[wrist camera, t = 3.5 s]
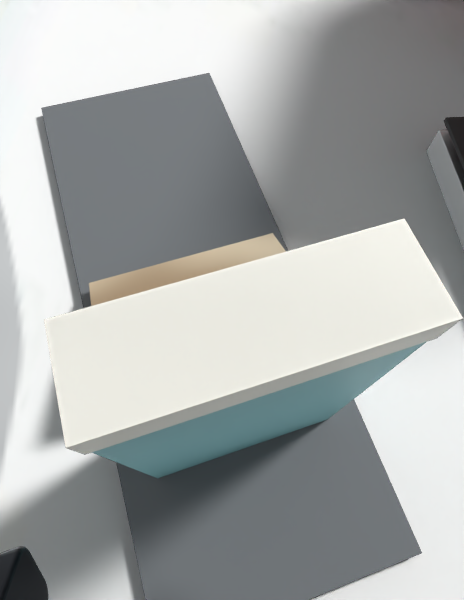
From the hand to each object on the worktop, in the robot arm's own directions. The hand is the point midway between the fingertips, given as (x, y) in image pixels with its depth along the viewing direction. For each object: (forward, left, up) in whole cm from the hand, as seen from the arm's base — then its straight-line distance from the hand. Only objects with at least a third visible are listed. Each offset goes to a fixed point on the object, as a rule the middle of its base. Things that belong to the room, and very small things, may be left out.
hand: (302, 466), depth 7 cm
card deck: (+2, +2, -9) cm, 9 cm away
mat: (+6, +6, -9) cm, 12 cm away
